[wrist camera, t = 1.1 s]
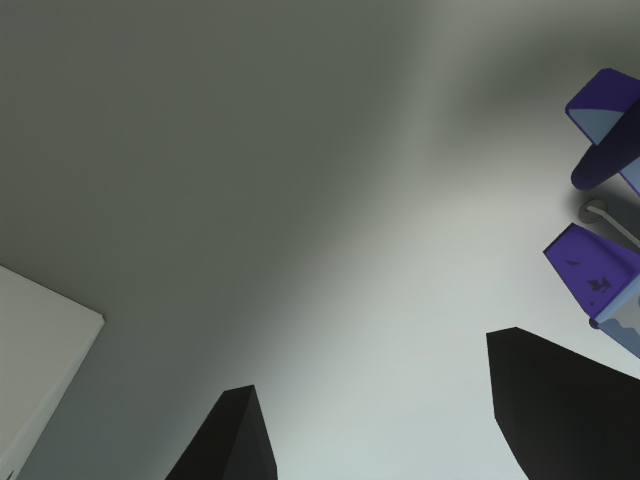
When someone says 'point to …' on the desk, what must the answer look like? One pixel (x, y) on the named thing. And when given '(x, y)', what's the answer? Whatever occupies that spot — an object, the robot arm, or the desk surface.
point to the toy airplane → (604, 209)
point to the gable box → (36, 361)
